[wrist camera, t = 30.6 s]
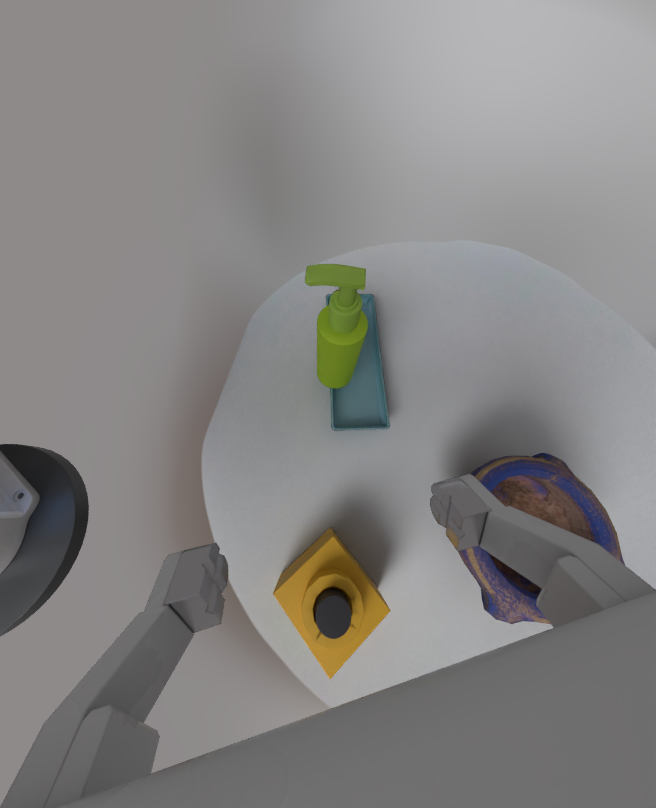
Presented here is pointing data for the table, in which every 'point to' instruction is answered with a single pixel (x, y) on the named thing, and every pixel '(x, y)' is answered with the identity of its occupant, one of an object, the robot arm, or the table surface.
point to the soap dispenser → (339, 322)
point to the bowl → (547, 500)
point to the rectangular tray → (362, 383)
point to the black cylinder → (333, 614)
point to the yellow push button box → (316, 574)
